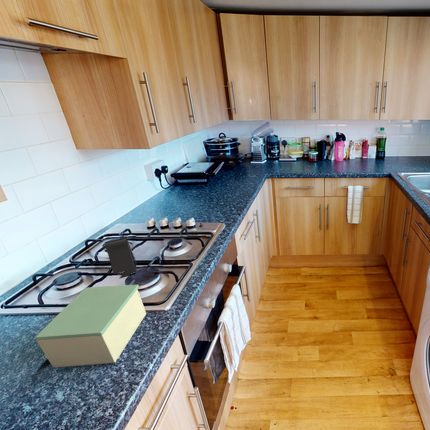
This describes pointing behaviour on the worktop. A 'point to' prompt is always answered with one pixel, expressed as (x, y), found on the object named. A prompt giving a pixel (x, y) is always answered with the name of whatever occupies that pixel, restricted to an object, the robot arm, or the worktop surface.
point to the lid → (89, 312)
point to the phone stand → (121, 256)
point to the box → (97, 340)
